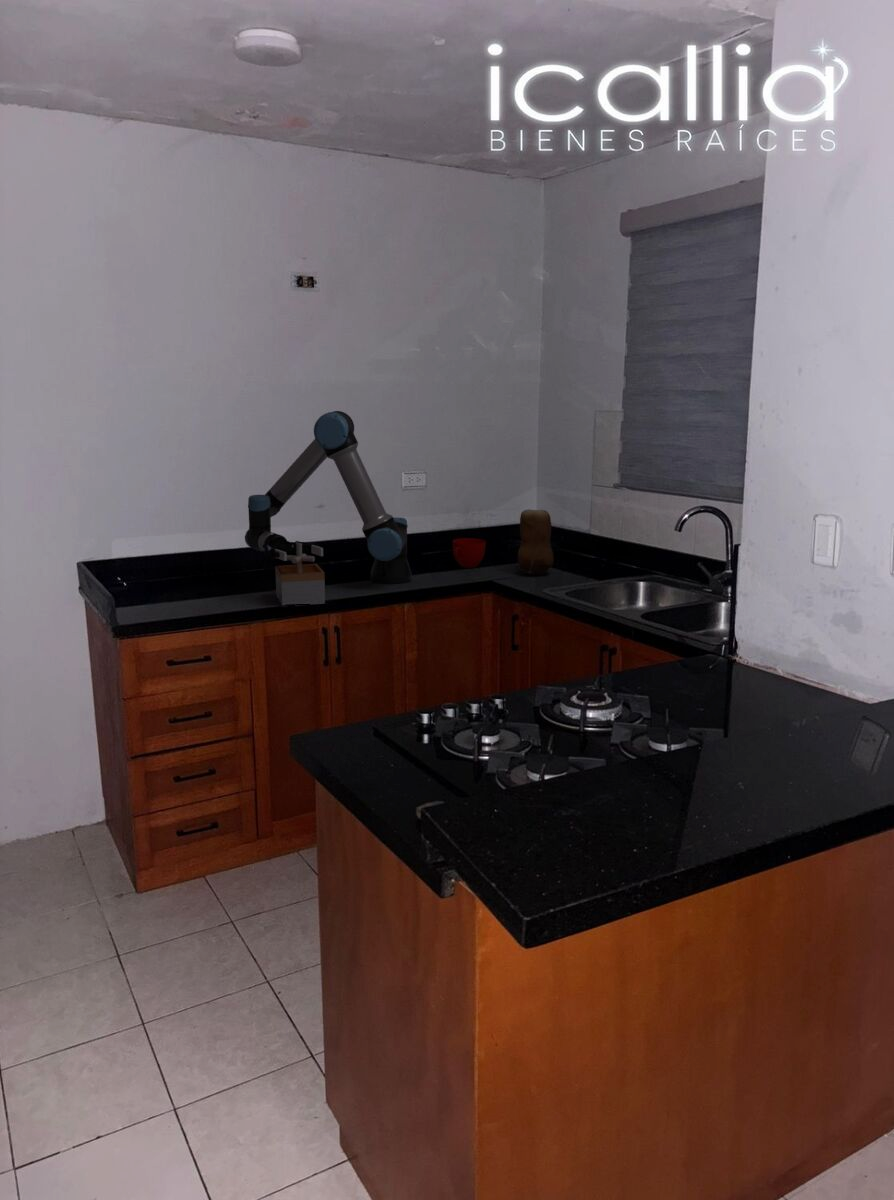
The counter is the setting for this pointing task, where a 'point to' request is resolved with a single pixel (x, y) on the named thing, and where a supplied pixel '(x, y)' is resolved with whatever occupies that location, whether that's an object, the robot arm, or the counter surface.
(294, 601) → the grey box
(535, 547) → the butternut squash
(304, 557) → the pipe connector
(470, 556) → the ceramic cup
